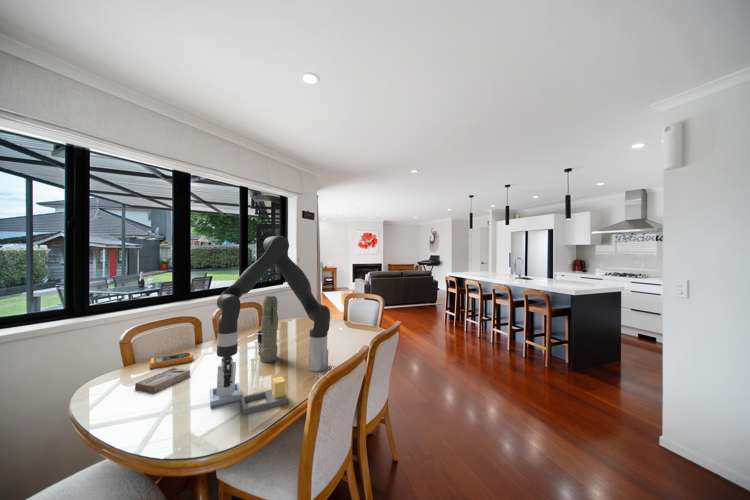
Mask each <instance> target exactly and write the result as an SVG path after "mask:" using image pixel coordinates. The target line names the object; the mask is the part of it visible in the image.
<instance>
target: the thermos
mask: <svg viewBox="0 0 750 500" xmlns="http://www.w3.org/2000/svg"><path fill="white" fill-rule="evenodd" d="M278 303H279V302H278V297H277V296H275V295H266V296H265V297H264V299H263V301H262V316H261V319H260V320H261V322H260V328H261V344H260V348H259V350H260V351H259V352H260V353H259V357H260V360H259V361H260V362H262V363H273V362H275V361H277V359H278V358H277V356H278V345H277V338H278V336H277V335H278V328H279V316H278Z"/></svg>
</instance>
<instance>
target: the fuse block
mask: <svg viewBox="0 0 750 500" xmlns="http://www.w3.org/2000/svg"><path fill="white" fill-rule="evenodd" d="M271 379H272V380H271V381H272V382H271V384H272V385H271V389H269V390H264V391H260V392H256V393H251V394H246V395H242V396H241V401H240V405H241V410H242V413H243V414H242V415H247V414H251V413H255V412H259V411H263V410H267V409H271V408H274V407H279V406H282V405H286V404H288V397H287V395H286V380H285V379H284V377H283V376H278V377H272V378H271ZM263 398H264V399H265V402H262V403H258V404H254V405H251V406H247V405H246V403H247V402H250V401H254V400H259V399H263Z"/></svg>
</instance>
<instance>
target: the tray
mask: <svg viewBox="0 0 750 500" xmlns="http://www.w3.org/2000/svg"><path fill="white" fill-rule="evenodd" d="M216 393H217V387H212V388H210V389H209V406H210V409H211V408H216V407H220V406H225V405H229V404H234V403H238V402H241V396H243V392H242V388H241V384H240V383H239V382H237V383H235V390H234V392H233V394H232V395H227V396H216Z"/></svg>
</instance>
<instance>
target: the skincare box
mask: <svg viewBox="0 0 750 500" xmlns="http://www.w3.org/2000/svg"><path fill="white" fill-rule="evenodd" d="M236 370H237V361H233V363H232V371H231V378H230V386H229V387H226V388H224V378H223V376H224V373H223V372H222V363H221V362H220V363H219V365H218V366H217V373H216V374H217V375H216V376H217V377H216V378H217V380H216V388H217V393H216V396H227V395H232V394H233V392H234V390H235V384H236ZM226 375H229V373H227V374H226Z"/></svg>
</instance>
